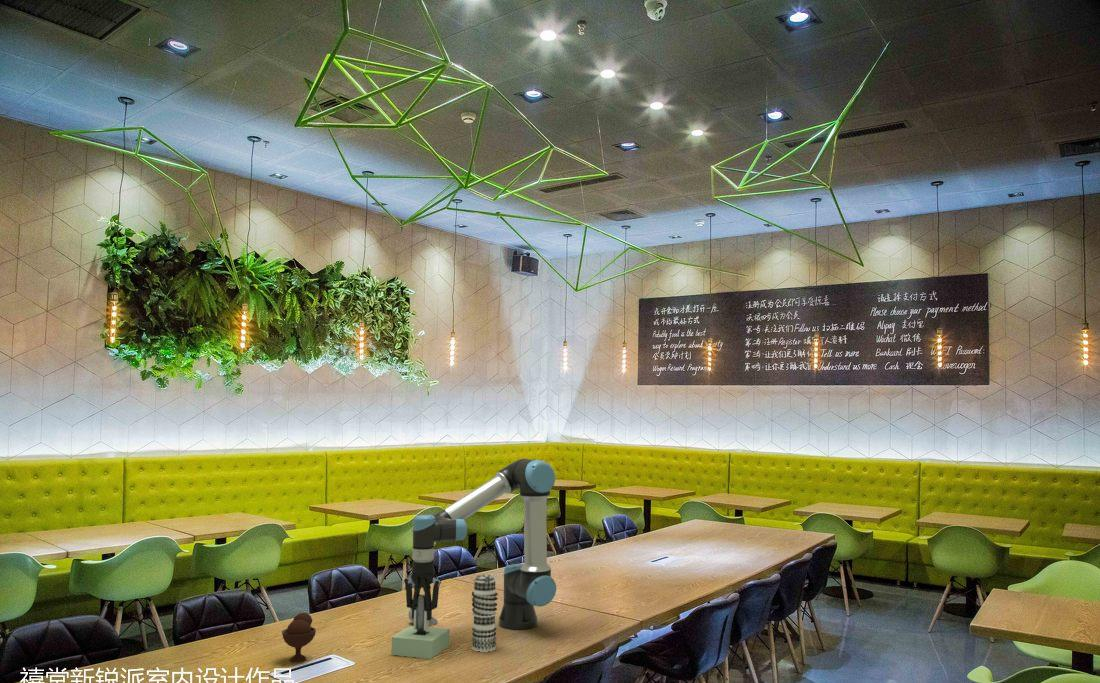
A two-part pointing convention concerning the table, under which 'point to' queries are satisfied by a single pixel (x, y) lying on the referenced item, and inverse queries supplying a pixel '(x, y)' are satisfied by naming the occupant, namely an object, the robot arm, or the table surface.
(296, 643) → the ice cream bowl
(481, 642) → the decorative candle
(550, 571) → the robot arm
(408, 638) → the socket block
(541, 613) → the table surface
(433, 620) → the ceramic mug
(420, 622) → the pin
